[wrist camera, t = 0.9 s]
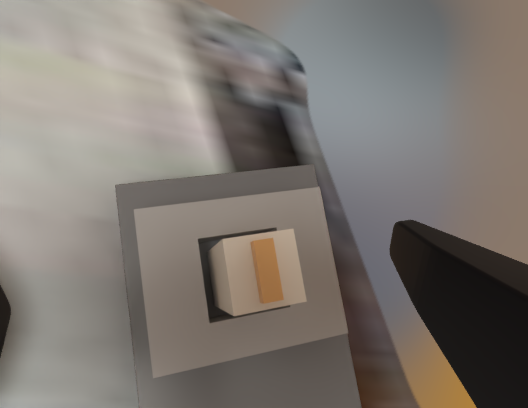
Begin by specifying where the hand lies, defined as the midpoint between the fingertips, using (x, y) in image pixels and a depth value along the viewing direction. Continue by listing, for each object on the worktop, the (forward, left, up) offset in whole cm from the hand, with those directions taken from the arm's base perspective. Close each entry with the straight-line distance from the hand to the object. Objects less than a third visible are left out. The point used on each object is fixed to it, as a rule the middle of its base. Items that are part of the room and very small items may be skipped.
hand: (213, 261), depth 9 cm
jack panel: (-6, -3, -16) cm, 17 cm away
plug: (0, -3, -13) cm, 13 cm away
